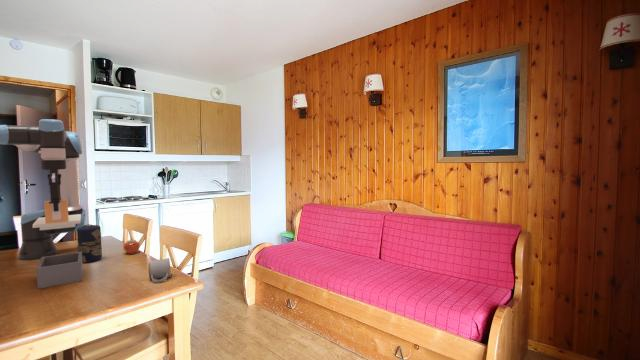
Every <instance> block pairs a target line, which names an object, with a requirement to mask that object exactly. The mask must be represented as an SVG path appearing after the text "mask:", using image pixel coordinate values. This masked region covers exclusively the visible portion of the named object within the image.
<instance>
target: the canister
mask: <svg viewBox="0 0 640 360" xmlns="http://www.w3.org/2000/svg"><path fill="white" fill-rule="evenodd" d="M101 230H102V229H101V226H100V225H98V224H88V223H87V224H84V226H82V227H79V228H78V229H77V231H76V237H77V238H76V239H77V252H82V262H83V263H90V262H91V263H92V262H95V261H98V260H100V259H101V258H103V253H102V252H103V251H102V249H103V248H102V231H101Z"/></svg>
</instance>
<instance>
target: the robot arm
mask: <svg viewBox="0 0 640 360" xmlns="http://www.w3.org/2000/svg"><path fill="white" fill-rule="evenodd" d="M80 139H81V138H80V136H79V134H78V132H76V131H75V132H74V131H67V130H65V125H64V122H63V121H62V120H60V119H50V118H48V119H47V118H44V119H40V120H39V121H38V125H34V126H33V125H11V124H10V125H9V124H0V145H4V146H5V145H11V146H12V145H13V146H16V148H18V149H20V150H21V151H25V152H27V153H33V154H40V158H41V161H40V164H41V166H40V167H41V169H42V170H43V171H45V170H46V171H47V170H49V174H47V180H48V186H49V192H50V201H51V202H49V204H50V203H51V206H52V220H58V219H61V205H60V200H67V201H68V215H77V214H81V222H80V223H79V224H76V225H75V227H69V228H59V229H49V230H40V227H38V228H33V224H34V223H35V221H36V220H37V219H38V218H41V217H45V209H40V210H35V211H30V212H26V213H23V214H22V215H21V216H20V226H21V227H20V228H21V229H20V230H21V246H20V249H19V251H18V259H19V260H22V261H28V260H37V259H41V257H47V256H54V255H57V253H58V248H57V246H56V244H55V242H54V240H53V235H56V234H66V233H75V232H76V233H77V229H78V228H79V227H82V226H84V225H86V224H85V221H86V213H87V210H86V209H84V208H83V205H81V204H80V201H79V188H78V187H79V186H78V171H77V160H78V159H79V158H80V155H83V150H82V149H83V148H82V143H81V140H80Z"/></svg>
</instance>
